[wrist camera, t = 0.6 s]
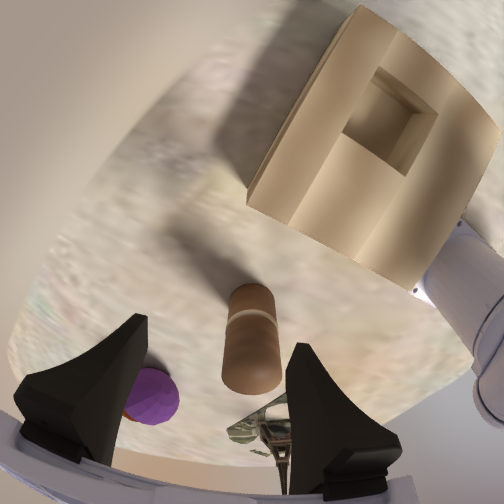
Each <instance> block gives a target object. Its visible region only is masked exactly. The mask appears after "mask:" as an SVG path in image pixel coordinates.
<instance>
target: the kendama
mask: <svg viewBox="0 0 504 504" xmlns="http://www.w3.org/2000/svg"><path fill="white" fill-rule="evenodd" d="M179 401H180V400H179V392H178V390H177V387H176V385H175V383H174V382H173V381H172V379H171V378H170V377H169V376H168V375H167V374H165V373H164V372H162V371H161V370H157V369H154V368H141V369H140V371H139V374H138V376H137V378H136V381H135V383H134V385H133V387H132V390H131V392H130V394H129V396H128V399H127V402H126V404H125V407H124V411H123V414H122V416H124V417H126V418H127V419H129V420H131V421H136V422H140V423H143V424H148V425H156V424H159V423H162V422H165V421H168V420H169V419H170V418H171V417H172V416H173V415H174V414H175V412H176V410H177V409H178V405H179Z"/></svg>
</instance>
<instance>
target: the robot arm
mask: <svg viewBox="0 0 504 504" xmlns="http://www.w3.org/2000/svg"><path fill="white" fill-rule="evenodd" d="M458 222H459V224H458ZM458 222H457V224H458V225H457V224H456V225H455V227H454V229H453V230H452V232H451V234H450V235H449V237H448V239H447V240H446V242H445V243H444V245H443V246H442V248H441V249H440V251H439V252H438V254H437V255H436V257H435V258H434V260H433V261H432V263H431V264H430V266H429V267H428V269H427V270H426V272H425V273H424V274H423V276H422V277H421V279H420V280H419V281H418V283H417V284H416V285H415V287H414V288H415V290H413V289H414V288H413V289H412V291H411V292H409V291H407V290H406V291H407V292H408V293H410V294H412V295H413V296H415V297H417V298H419V299H420V300H422V301H424V302H426V303H427V304H429V305H431V306H432V307H434V308H436V309H438V310H439V311H440V313H441V314H442V315H443V317H444V318H445V319H446V320H447V322H448V323H449V324H450V326H451V327H452V328H453V329H454V331H455V332H456V333H457V335H458V336H459V338H460V339H461V340H462V342H463V343H464V344H465V346H466V347H467V348H468V350H469V351H470V353H471V354H472V356H473V357H474V362H473V364H472V366H471V368H472V370H473V371H474V373H475V374H476V376H477V379H476V380H475V383H474V386H473V398H474V402H475V405H476V408H477V410H478V411H479V413H480V415H481V416H482V417H483V418H484V420H485V421H486V422H487V423H489V424H490V425H491V426H493V427H495V428H496V429H499V430H501V431H504V258H502V257H501V256H500V255H498V254H497V253H496V252H494V251H493V250H492V249H491V248H490V247H489V246H488V245H487V243H486V242H485V241H484V240H483V239H482V238H481V237H480V236H479V235H478V234H477V233H476V232H475V231H474V230H473V229H472V228H471V227H470V226H469V225H468V224H467V223H466V222H465V221H464V220H463V219H462V218H461V217H460V219H459V220H458ZM147 348H148V316H146V315H141V314H137V313H135V314H134V315H132V316H131V317H130V318H129V319H128V320H127V321H126V322H125V323H123V324H122V325H121V326H120V327H119V328H118V329H116V330H115V331H114V332H113V333H112V334H110V335H109V336H108V337H107V338H105V339H104V340H103V341H101V342H100V343H98V344H97V345H96V346H94V347H93V348H91V349H90V350H88V351H87V352H85V353H83V354H82V355H80V356H78V357H76V358H74V359H72V360H70V361H68V362H66V363H64V364H61V365H59V366H56V367H53V368H50V369H48V370H44V371H41V372H37V373H33V374H29V375H26V377H25V378H24V379H23V381H22V382H21V384H20V385H19V387H18V389H17V390H16V392H15V394H14V396H13V397H14V401H15V403H16V405H17V407H18V408H19V410H20V411H21V413H22V415H23V416H24V418H25V421H24V423H23V424H22V423H21V422H20V421H18V420H17V419H16V418H14V417H12V416H11V415H9V414H7V413H5V412H4V411H2V410H0V468H1V469H2V470H3V471H5V472H6V473H8V474H9V475H11V476H12V477H14V478H16V479H17V480H19V481H20V482H22V483H24V484H25V485H27V486H29V487H30V488H32V489H34V490H36V491H37V492H39V493H41V494H43V495H44V496H46V497H48V498H50V499H52V500H54V501H56V502H58V503H59V504H420V503H419V500H418V496H417V492H416V489H415V486H414V482H413V479H412V476H411V475H407V476H403V477H398V478H394V479H390V480H388V481H386V478H385V476H387V475H388V471H387V468H388V467H389V466H390V465H391V464H392V463H394V462H395V461H396V460H397V459H398V458H399V457H400V456H401V454H402V447H401V444H400V441H399V439H398V436H397V435H396V434H394V433H393V432H391V431H389V430H388V429H386V428H384V427H383V426H381V425H380V424H378V423H377V422H375V421H374V420H373V419H371V418H370V417H369V416H367V415H366V414H365V413H364V412H363V411H361V410H360V409H359V408H358V407H357V406H356V405H355V404H354V403H353V402H352V401H351V400H350V399H349V398H348V397H347V396H346V395H345V394H344V393H343V392H342V391H341V389H340V388H339V387H338V386H337V384H336V383H335V382H334V381H333V379H332V378H331V377H330V375H329V374H328V372H327V371H326V369H325V368H324V366H323V365H322V363H321V362H320V360H319V359H318V357H317V356H316V354H315V352H314V351H313V349H312V348H311V346H310V345H309V344H307V343H298V342H297V344H296V346H295V349H294V351H293V354H292V356H291V359H290V361H289V363H288V366H287V368H286V380H285V381H286V396H287V403H288V410H289V418H290V425H291V474H290V488H289V495H259V494H258V495H257V494H241V493H230V492H221V491H213V490H205V489H199V488H192V487H187V486H181V485H176V484H171V483H166V482H162V481H158V480H153V479H149V478H145V477H142V476H138V475H134V474H131V473H127V472H124V471H121V470H117V469H115V468H111V463H112V458H113V452H114V447H115V442H116V438H117V433H118V429H119V425H120V422H121V418H122V414H123V411H124V407H125V404H126V402H127V399H128V396H129V394H130V392H131V390H132V387H133V385H134V383H135V381H136V378H137V376H138V374H139V371H140V369H141V367H142V365H143V362H144V358H145V355H146V352H147Z"/></svg>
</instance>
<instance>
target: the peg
mask: <svg viewBox="0 0 504 504" xmlns="http://www.w3.org/2000/svg"><path fill="white" fill-rule="evenodd" d="M225 334H226V339H225V348H224V357H223V366H222V375H221V376H222V380H223V382H224V384H225V385H226V386H227V387H228V388H229V389H231V390H232V391H235V392H237V393H240V394H245V395H259V394H264V393H267V392H269V391H271V390H273V389H275V388H276V387H277V386H278V385H279V384H280V382H281V380H282V368H281V358H280V348H279V338H278V336H279V331H278V325H277V319H276V310H275V300H274V296H273V294H272V293H271V291H270V290H269V289H267V288H266V287H264V286H262V285H259V284H245V285H242V286H240V287H239V288H237V289H236V290H235V291H234V292H233V293H232V295H231V298H230V304H229V313H228V321H227V325H226V333H225Z"/></svg>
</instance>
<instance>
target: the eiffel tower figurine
mask: <svg viewBox="0 0 504 504" xmlns="http://www.w3.org/2000/svg"><path fill="white" fill-rule="evenodd" d="M281 403H287V396H286V393H285V394H284V395H282V396H281V397H279V398H277V399H276V400H274V401H272V402H271V403H269V404H268V405H266V406H264V407H263V408H261V409H260V410H258V411H257V412H255V413H254V414H252V415H250V416H249V417H247V418H245V419H243V420H242V421H240V422H238V423H236V424H235V425H233V426H231V427H229V428H227V433H228V435H229V438H230V439H231V440H232V441H234V442H238V443H240V444H247V443H249V442H251V441H254V439H255V438H256V437H258V436H259V435H260V439H261V441H262V442H264V444H265V445H266V446H267V447H268V448H269V449H270V452H271V454H273V455H274V458H275V460H276V467H278V470H279V475H280V481H281V489H282V495H287V468H288V466H289V458H290V454H291V425H290V419H286V420H274V421H265V412H266V409H267V408H268V407H271V406H274V405H277V404H281ZM251 452H254V453H257V454H260V455H263V456H266V457H267V456H269V455H270V454H267V453H262V452H261V451H255V450H251ZM281 453H285V457H280V456H279V454H281Z"/></svg>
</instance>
